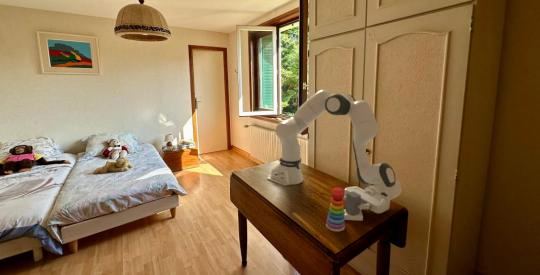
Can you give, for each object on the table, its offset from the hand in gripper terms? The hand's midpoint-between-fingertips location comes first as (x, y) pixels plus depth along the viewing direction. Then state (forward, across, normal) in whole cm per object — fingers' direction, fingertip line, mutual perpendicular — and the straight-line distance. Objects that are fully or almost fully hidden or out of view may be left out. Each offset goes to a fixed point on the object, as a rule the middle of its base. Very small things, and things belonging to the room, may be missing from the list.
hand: (351, 202), depth 112 cm
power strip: (0, -1, +8) cm, 9 cm away
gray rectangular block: (-1, 0, +7) cm, 7 cm away
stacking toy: (+10, +1, +9) cm, 13 cm away
